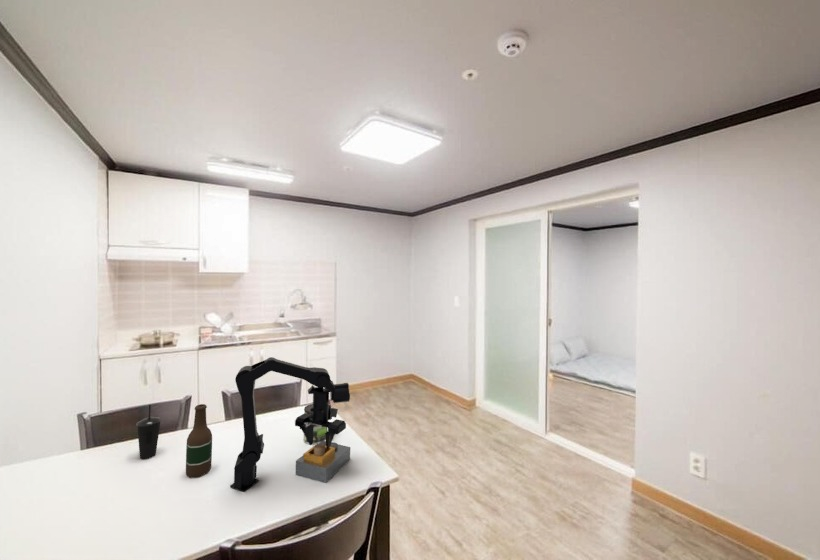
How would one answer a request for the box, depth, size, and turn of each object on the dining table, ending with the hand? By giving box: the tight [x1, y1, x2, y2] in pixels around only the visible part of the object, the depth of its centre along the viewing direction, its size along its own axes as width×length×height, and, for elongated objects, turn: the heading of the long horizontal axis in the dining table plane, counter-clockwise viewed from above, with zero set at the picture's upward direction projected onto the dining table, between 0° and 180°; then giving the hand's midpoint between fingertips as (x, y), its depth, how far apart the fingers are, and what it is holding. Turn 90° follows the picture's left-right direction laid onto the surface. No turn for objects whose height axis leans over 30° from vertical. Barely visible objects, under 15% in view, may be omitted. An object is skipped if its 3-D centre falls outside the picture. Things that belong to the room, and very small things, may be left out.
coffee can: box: [303, 403, 328, 445], centre depth 143 cm, size 10×10×14 cm
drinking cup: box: [135, 404, 162, 460], centre depth 126 cm, size 8×8×20 cm
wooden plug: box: [314, 444, 325, 456], centre depth 118 cm, size 4×4×9 cm
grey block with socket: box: [294, 441, 351, 484], centre depth 121 cm, size 16×13×8 cm
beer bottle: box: [185, 403, 213, 479], centre depth 116 cm, size 8×8×24 cm
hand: (319, 446), depth 118 cm, fingers open, 7 cm apart
